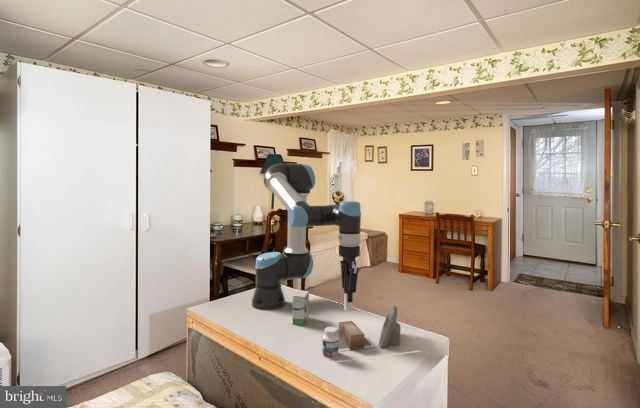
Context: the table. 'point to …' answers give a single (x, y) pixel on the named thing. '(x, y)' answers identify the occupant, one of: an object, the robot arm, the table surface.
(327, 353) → the pill bottle
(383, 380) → the table surface
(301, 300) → the ink box
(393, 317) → the digital clock
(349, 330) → the block
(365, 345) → the mat
